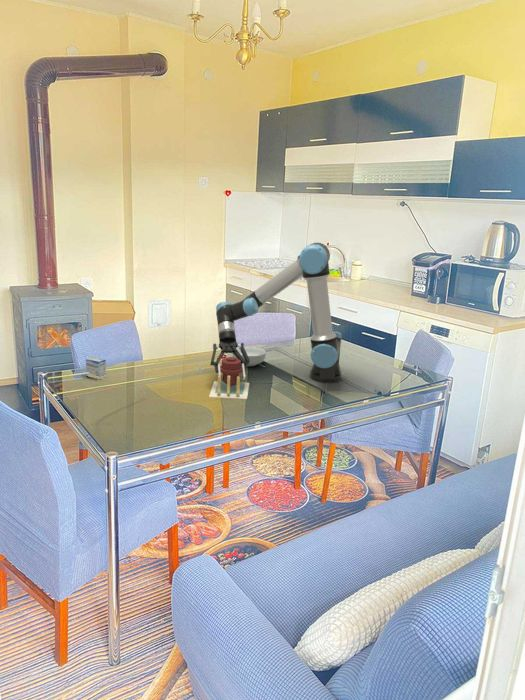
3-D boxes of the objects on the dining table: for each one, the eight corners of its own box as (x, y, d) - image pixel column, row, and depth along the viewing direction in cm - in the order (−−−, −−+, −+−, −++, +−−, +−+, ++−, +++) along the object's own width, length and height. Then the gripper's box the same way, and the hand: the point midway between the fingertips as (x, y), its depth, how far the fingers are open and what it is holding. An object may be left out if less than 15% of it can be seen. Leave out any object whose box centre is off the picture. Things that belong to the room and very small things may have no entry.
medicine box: (86, 377, 233) (85, 359, 231) (92, 374, 237) (91, 356, 235) (100, 380, 231) (99, 361, 228) (106, 377, 234) (105, 359, 232)
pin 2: (230, 395, 217) (230, 375, 215) (229, 396, 216) (230, 376, 213) (226, 395, 217) (227, 375, 215) (226, 396, 216) (227, 376, 213)
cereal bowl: (271, 363, 264) (272, 350, 262) (253, 371, 250) (254, 358, 248) (244, 356, 272) (244, 344, 270) (225, 364, 259) (225, 351, 257)
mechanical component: (244, 382, 229) (238, 390, 220) (222, 379, 231) (216, 387, 222) (245, 356, 226) (239, 363, 216) (223, 353, 227) (216, 360, 218)
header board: (249, 384, 233) (249, 382, 233) (246, 401, 215) (246, 398, 215) (214, 382, 233) (214, 380, 233) (208, 398, 215) (208, 396, 215)
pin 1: (220, 394, 217) (221, 375, 215) (220, 396, 216) (220, 376, 213) (217, 394, 218) (217, 374, 215) (217, 396, 216) (217, 376, 213)
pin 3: (239, 396, 217) (240, 376, 215) (239, 397, 216) (240, 377, 213) (236, 395, 217) (236, 375, 215) (235, 397, 216) (236, 377, 213)
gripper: (249, 337, 237) (255, 381, 227) (201, 338, 232) (205, 383, 222) (252, 329, 231) (259, 374, 221) (202, 330, 226) (206, 376, 216)
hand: (232, 378), depth 221 cm, fingers closed on mechanical component, 10 cm apart
